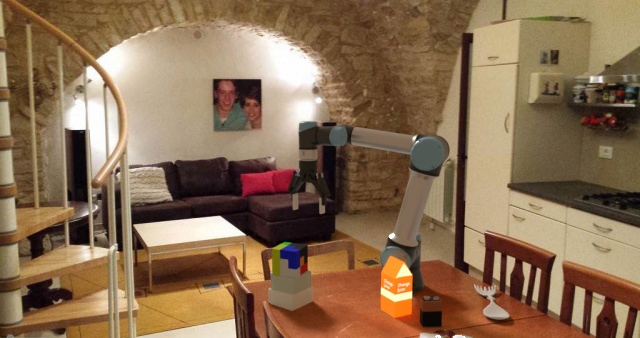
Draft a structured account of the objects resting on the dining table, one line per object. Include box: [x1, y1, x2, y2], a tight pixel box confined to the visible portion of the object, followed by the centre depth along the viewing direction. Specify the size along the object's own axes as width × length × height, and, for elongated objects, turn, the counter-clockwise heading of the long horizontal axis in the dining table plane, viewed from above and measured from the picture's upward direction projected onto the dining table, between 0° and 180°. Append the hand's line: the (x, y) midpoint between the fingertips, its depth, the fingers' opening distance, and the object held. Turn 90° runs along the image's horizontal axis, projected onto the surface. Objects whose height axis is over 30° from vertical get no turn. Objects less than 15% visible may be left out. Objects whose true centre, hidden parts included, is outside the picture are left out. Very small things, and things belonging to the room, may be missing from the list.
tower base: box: [267, 285, 314, 312], centre depth 207 cm, size 12×12×6 cm
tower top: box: [270, 269, 312, 295], centre depth 206 cm, size 11×11×6 cm
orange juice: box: [380, 256, 413, 319], centre depth 197 cm, size 8×9×20 cm
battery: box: [419, 295, 443, 328], centre depth 186 cm, size 4×7×10 cm, turn 94°
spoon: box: [473, 283, 511, 321], centre depth 204 cm, size 9×32×4 cm, turn 172°
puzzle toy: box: [271, 241, 309, 278], centre depth 205 cm, size 10×10×10 cm
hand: (308, 211), depth 222 cm, fingers open, 13 cm apart
